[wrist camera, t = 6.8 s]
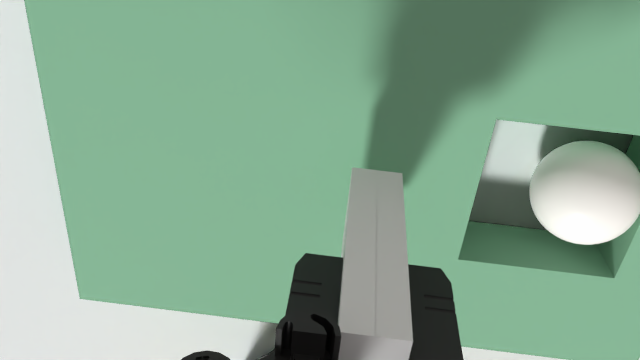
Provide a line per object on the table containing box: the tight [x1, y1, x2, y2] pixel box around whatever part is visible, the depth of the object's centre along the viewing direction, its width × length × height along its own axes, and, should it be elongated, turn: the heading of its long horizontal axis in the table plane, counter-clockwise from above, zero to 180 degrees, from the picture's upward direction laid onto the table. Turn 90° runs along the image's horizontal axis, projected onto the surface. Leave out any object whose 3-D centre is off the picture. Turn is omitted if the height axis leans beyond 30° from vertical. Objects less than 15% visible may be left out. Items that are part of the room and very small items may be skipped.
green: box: [24, 0, 640, 360], centre depth 20 cm, size 22×14×2 cm, turn 85°
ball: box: [529, 141, 640, 245], centre depth 19 cm, size 4×4×4 cm
